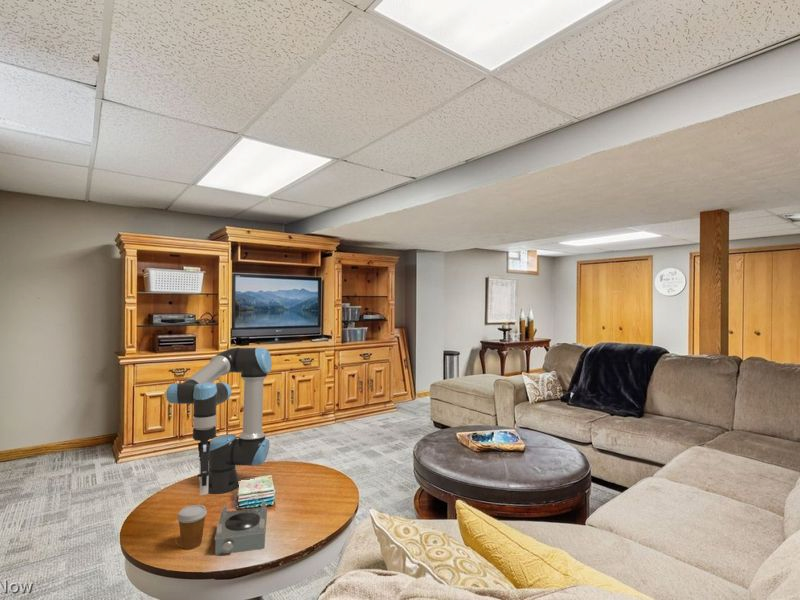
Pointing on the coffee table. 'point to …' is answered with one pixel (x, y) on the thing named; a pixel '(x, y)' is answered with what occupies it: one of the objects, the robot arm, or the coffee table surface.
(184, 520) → the disposable coffee cup
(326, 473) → the coffee table surface
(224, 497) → the coffee table surface
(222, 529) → the hot plate
